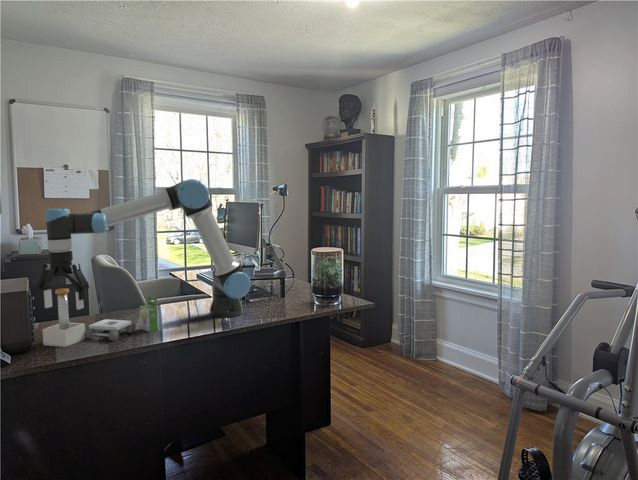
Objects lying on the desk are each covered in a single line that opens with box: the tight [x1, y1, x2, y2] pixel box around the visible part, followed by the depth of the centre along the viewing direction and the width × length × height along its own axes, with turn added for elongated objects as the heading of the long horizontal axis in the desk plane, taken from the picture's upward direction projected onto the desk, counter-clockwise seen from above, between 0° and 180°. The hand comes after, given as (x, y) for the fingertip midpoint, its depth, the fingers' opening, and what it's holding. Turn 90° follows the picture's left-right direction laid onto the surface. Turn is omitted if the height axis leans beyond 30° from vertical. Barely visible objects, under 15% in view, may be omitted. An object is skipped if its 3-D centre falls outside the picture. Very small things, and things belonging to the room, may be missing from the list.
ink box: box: [139, 295, 159, 333], centre depth 178 cm, size 7×4×13 cm, turn 50°
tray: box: [42, 322, 87, 348], centre depth 163 cm, size 10×10×6 cm
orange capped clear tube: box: [54, 287, 70, 330], centre depth 162 cm, size 4×4×19 cm
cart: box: [85, 318, 136, 342], centre depth 171 cm, size 12×14×5 cm
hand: (64, 308), depth 162 cm, fingers open, 13 cm apart
